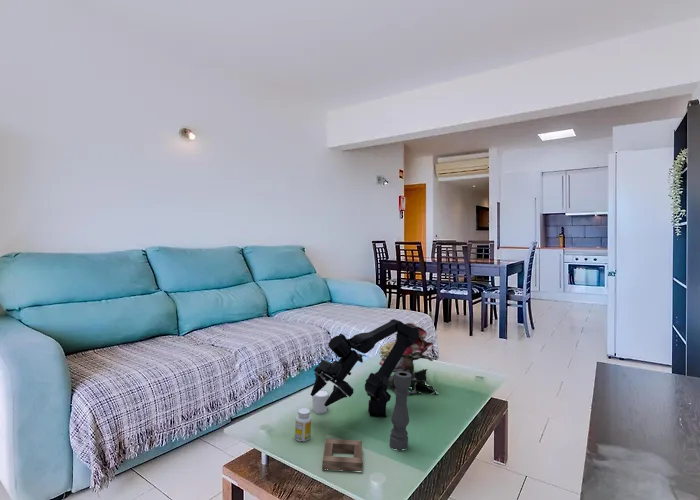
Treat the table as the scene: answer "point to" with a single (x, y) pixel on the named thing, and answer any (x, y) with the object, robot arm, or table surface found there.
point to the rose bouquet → (410, 360)
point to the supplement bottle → (303, 425)
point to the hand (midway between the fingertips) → (318, 400)
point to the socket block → (342, 462)
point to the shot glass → (320, 401)
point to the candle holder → (400, 411)
